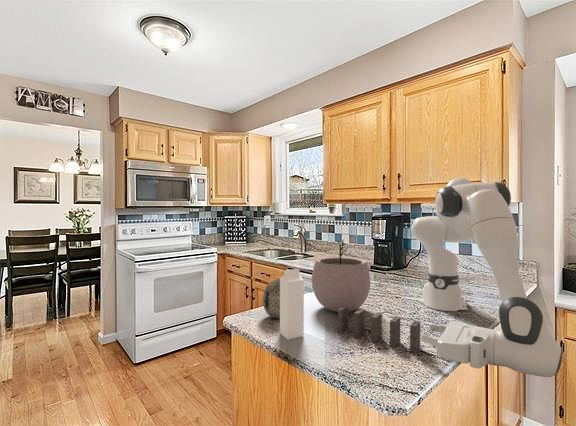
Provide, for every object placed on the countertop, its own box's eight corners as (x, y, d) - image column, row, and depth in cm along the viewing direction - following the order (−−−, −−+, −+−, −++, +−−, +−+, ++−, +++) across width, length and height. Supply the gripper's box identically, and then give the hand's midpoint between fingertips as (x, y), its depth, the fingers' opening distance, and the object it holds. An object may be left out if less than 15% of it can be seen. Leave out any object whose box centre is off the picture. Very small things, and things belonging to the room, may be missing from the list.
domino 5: (414, 346, 97) (414, 320, 97) (420, 347, 96) (420, 321, 96) (409, 351, 93) (410, 325, 93) (415, 353, 92) (415, 326, 92)
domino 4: (395, 340, 101) (395, 316, 100) (400, 342, 100) (400, 317, 99) (389, 346, 97) (390, 320, 96) (395, 347, 96) (395, 321, 95)
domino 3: (377, 336, 104) (377, 312, 104) (381, 337, 103) (382, 313, 103) (371, 341, 100) (371, 316, 100) (376, 342, 99) (376, 317, 99)
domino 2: (360, 331, 108) (360, 308, 108) (364, 333, 107) (364, 309, 107) (353, 336, 104) (354, 312, 104) (358, 337, 103) (358, 313, 103)
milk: (279, 333, 106) (279, 268, 106) (295, 330, 109) (295, 267, 109) (288, 340, 101) (287, 272, 101) (304, 336, 104) (303, 270, 103)
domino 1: (344, 327, 111) (344, 305, 111) (348, 328, 110) (348, 306, 110) (337, 332, 107) (337, 309, 107) (341, 333, 106) (342, 310, 106)
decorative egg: (256, 318, 121) (256, 279, 121) (277, 310, 130) (277, 274, 129) (278, 325, 113) (278, 284, 113) (299, 317, 122) (299, 278, 122)
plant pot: (332, 324, 115) (332, 242, 114) (301, 305, 136) (301, 236, 136) (382, 314, 125) (383, 239, 124) (346, 298, 147) (347, 234, 146)
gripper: (486, 321, 92) (435, 312, 100) (477, 346, 76) (417, 332, 84) (485, 343, 92) (434, 331, 101) (477, 371, 76) (417, 355, 84)
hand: (426, 332), depth 92 cm, fingers open, 8 cm apart
